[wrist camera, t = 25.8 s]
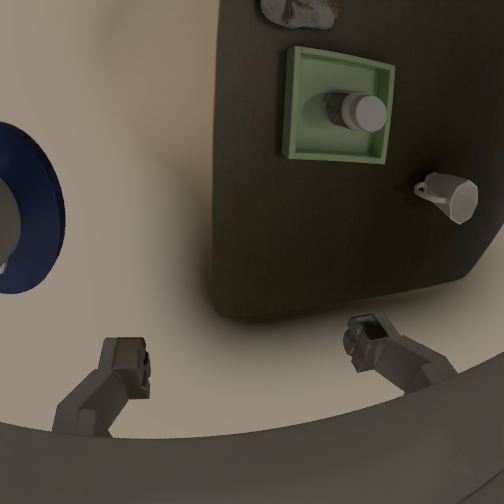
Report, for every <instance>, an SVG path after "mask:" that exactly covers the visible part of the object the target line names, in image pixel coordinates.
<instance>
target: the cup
mask: <svg viewBox="0 0 504 504" xmlns="http://www.w3.org/2000/svg"><path fill="white" fill-rule="evenodd" d="M421 187H423V189H424V192H422V191H420V190H418V188H421ZM414 193H415V194H416V195H418V196H420V197H422V198H424V199H426V200H429V201H432V202H433V203H434V204H435V205H436V206H437V207H439V208H440V209H441V210H442V211H443V212H444V213H445V214H446V215H447V216H448V217H449V218H450V219H451V220H453V221H455V222H456V223H458V224H461V223H463V222H464V221H466V220H468V219H469V218H471V216H472V214H473V212H474V210H475V208H476V205H477V203H478V190H477V186H476V185H474V184H473V183H472V182H471V181H470V180H467V179H464V178H460V177H456V176H452V175H449V174H440V173H439V174H437V173H436V172H433V173H431V174H429V175H427V176H426V179H425V181H424V182H420V183H417V184H416V185H415V187H414Z"/></svg>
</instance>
